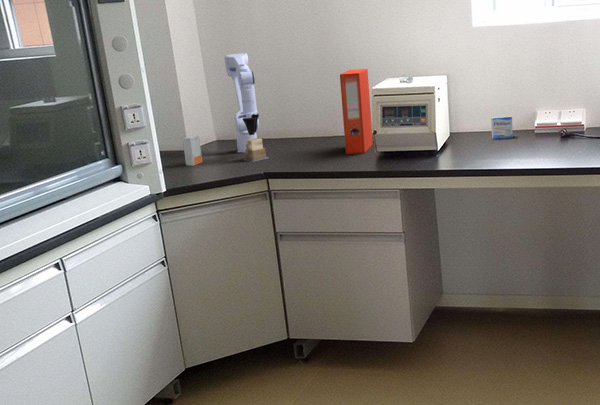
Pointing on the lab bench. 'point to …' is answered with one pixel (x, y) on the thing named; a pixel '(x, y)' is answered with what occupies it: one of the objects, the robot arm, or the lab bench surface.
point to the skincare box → (192, 150)
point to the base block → (255, 154)
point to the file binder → (356, 111)
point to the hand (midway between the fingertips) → (252, 133)
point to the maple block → (254, 144)
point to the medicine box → (502, 127)
